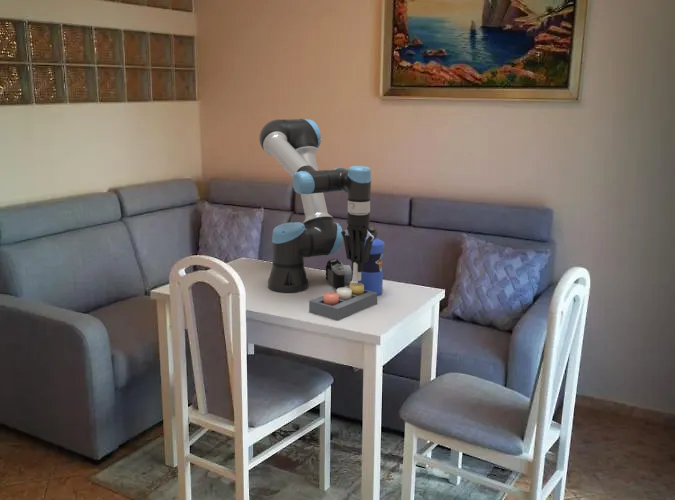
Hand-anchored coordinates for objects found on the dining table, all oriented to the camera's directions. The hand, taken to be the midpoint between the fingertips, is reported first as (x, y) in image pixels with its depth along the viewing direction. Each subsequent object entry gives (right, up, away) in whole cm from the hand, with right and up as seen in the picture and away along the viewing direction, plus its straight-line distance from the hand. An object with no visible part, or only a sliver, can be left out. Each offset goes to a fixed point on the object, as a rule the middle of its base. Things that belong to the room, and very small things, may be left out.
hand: (357, 280), depth 230 cm
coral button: (-9, -7, -9) cm, 15 cm away
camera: (-6, -3, +22) cm, 23 cm away
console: (-5, -9, -3) cm, 11 cm away
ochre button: (0, -5, +1) cm, 5 cm away
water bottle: (+5, -5, +13) cm, 15 cm away
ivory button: (-5, -6, -4) cm, 8 cm away
